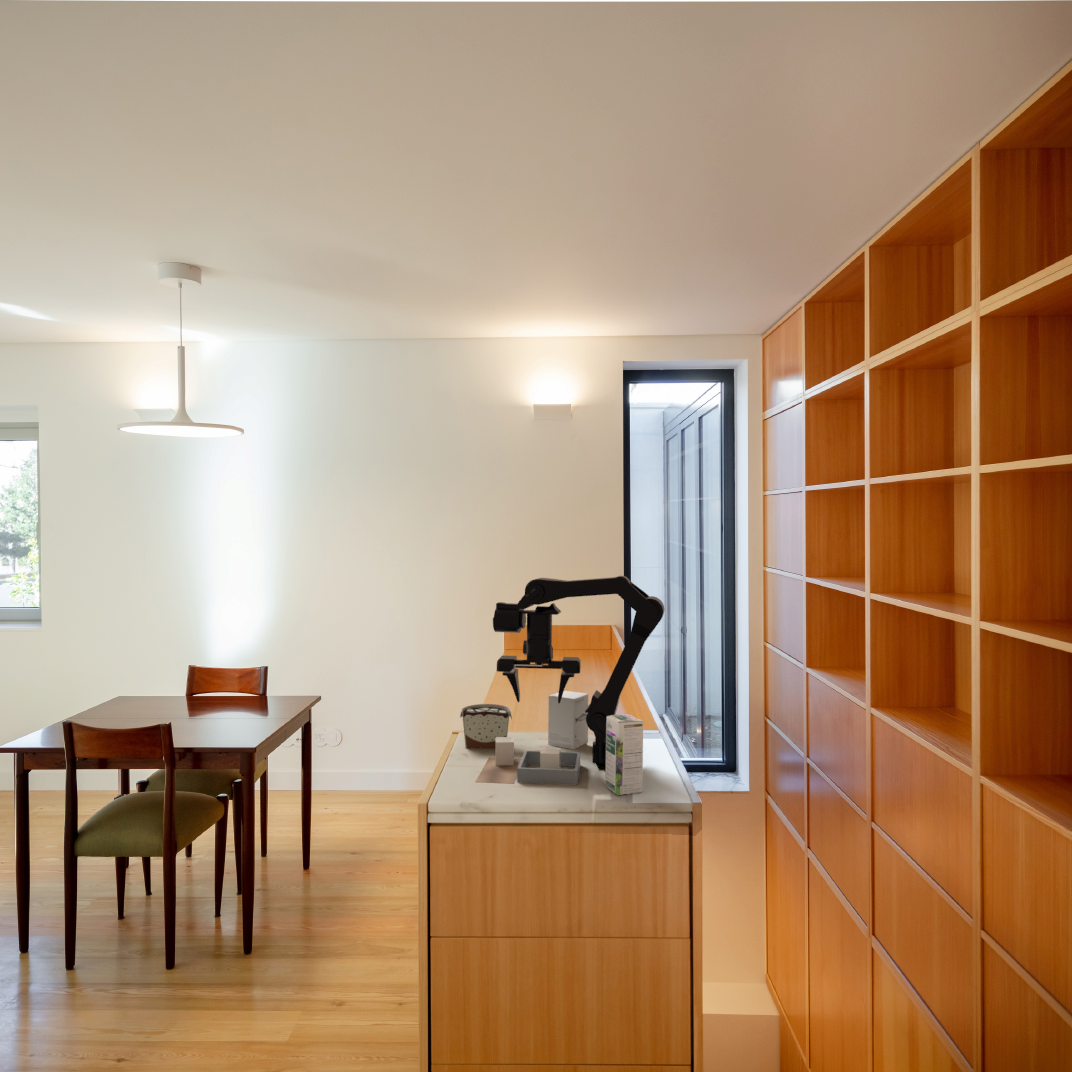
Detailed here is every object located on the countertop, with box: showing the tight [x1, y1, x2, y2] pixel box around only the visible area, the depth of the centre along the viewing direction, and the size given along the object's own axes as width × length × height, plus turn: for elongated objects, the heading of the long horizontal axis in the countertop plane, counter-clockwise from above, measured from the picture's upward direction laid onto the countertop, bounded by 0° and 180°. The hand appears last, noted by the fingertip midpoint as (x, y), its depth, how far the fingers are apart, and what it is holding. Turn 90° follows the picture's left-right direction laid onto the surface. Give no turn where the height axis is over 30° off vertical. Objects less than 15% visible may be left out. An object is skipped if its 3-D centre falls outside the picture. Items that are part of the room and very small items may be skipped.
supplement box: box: [547, 690, 589, 750], centre depth 172 cm, size 7×7×13 cm
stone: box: [539, 747, 562, 769], centre depth 150 cm, size 4×4×5 cm
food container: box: [459, 703, 513, 750], centre depth 170 cm, size 12×6×10 cm, turn 84°
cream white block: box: [494, 736, 515, 765], centre depth 157 cm, size 4×4×5 cm
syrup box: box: [604, 713, 644, 796], centre depth 143 cm, size 6×6×14 cm
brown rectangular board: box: [474, 757, 521, 785], centre depth 152 cm, size 8×16×1 cm, turn 174°
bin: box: [516, 749, 581, 786], centre depth 150 cm, size 12×12×4 cm
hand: (538, 702), depth 162 cm, fingers open, 9 cm apart
